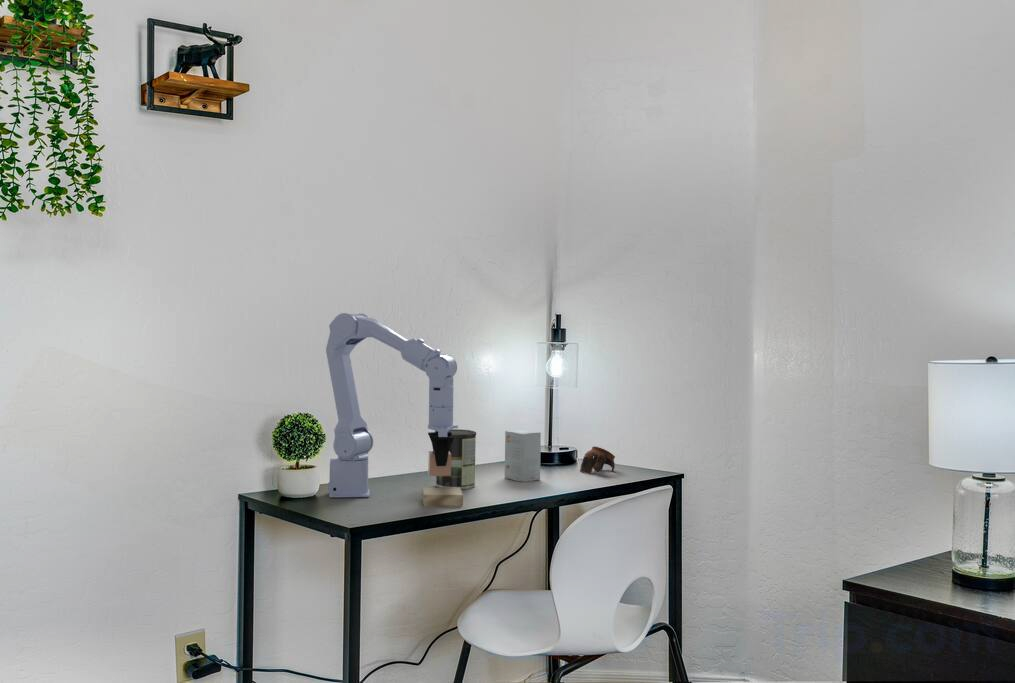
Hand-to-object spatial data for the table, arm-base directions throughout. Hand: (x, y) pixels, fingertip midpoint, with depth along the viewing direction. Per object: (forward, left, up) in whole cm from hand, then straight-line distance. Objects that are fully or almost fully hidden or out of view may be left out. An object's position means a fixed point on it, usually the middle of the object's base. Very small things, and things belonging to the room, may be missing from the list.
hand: (440, 463), depth 204 cm
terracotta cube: (0, 0, -2) cm, 2 cm away
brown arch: (+48, +39, -9) cm, 62 cm away
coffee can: (+6, +20, -9) cm, 23 cm away
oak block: (+1, 0, -9) cm, 9 cm away
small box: (+25, +29, -9) cm, 39 cm away
